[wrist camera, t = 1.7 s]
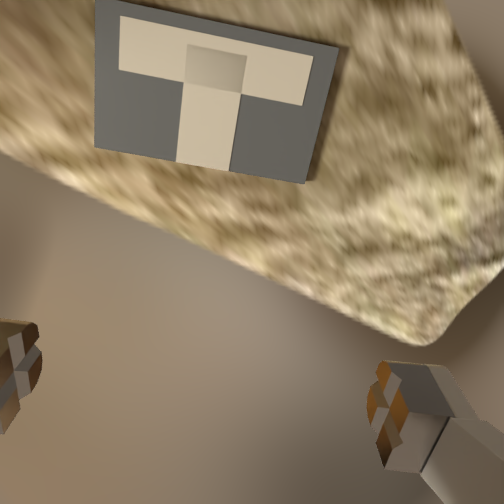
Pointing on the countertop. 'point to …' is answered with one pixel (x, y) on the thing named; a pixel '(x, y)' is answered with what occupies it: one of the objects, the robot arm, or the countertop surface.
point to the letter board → (207, 91)
